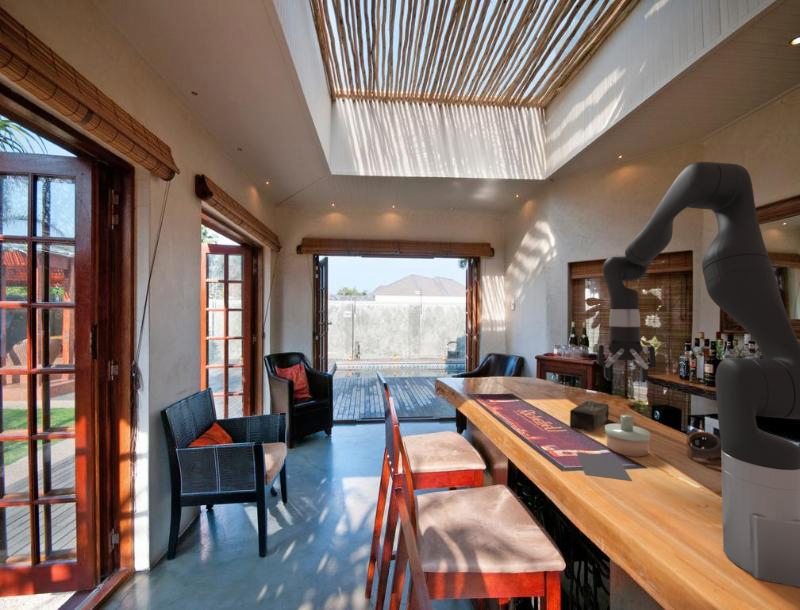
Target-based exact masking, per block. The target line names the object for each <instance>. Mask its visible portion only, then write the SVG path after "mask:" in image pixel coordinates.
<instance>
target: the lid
mask: <svg viewBox="0 0 800 610" xmlns="http://www.w3.org/2000/svg"><path fill="white" fill-rule="evenodd" d="M604 433H606V435H607V434H608V435H610V436H613V437H615V438H619V439H623V440H628V441H638V442H642V441H648V442H649V441H650V440H651V432H649V431H648V430H647V429H645V428H643V427H640V426H635V425H634V417H633V415H629V414H620V423H608V424H605V425H604Z"/></svg>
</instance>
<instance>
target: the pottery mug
mask: <svg viewBox="0 0 800 610" xmlns="http://www.w3.org/2000/svg"><path fill="white" fill-rule="evenodd" d="M686 436H687V437H686V440H685V441H686V448H687V449H686V456H687V457H688V458H689V459H690V458H691V460H692V459H693V458H696V459H705V460H710V459H716V458H722V457H721V437H719V436H717V435H715V434H714V433H711V432H708V431H695V430H693V429H691V430H688V431H687V432H686Z"/></svg>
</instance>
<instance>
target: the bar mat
mask: <svg viewBox="0 0 800 610" xmlns="http://www.w3.org/2000/svg"><path fill="white" fill-rule="evenodd" d="M576 455H577V458H578V460H579V463H580V465H581V467H582V470H583V472H584V475H585V476H591V477H599V478H607V479H614V480H622V481H629V482H633V480H632V478H631V477H630V475H629V473H628V472H627V470H626V469H625V467H624V466H623V464H622V463H621V461H620V459H619V457H618V456H616V455H615V456H614V455H606V454H604V455H603V454H597V453H589V452H580V451H577V452H576Z"/></svg>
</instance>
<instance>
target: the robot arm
mask: <svg viewBox="0 0 800 610" xmlns="http://www.w3.org/2000/svg"><path fill="white" fill-rule="evenodd" d="M686 208H691V209H699V210H710V211H711V212H713V213H714V215H715V217H716V221H717V227H718V228H717V230H718V231H717V233H716V236H715V237H714V239H713V240H712V242H711V243H710V245H709V247H708V248H707V250H706V252H705V254H704V256H703V258H702V261H701V268H702V275H703V279H704V284H705V287H706V292H707V294H708V296H709V297H710V299H711V300H712V301H713V303H715V305H716V306H717V307H719V308H720V309H721V310H722V311H723V312H724V313H725V314H726V315H728V316H729V317H730V318H731V319H733V320H734V321H735V322H736V323H737V324H739V326H741V327H742V328H743V329H744V330H745V331H747V332H748V334H749V335H750V337H751V338H752V339H753V341H754V342H755V343H756V345H757V347H758V349H759V351H760V353H761V356H762V358H748V357H747V358H744V357H739V358H738V357H731V358H729V357H728V358H725V359H723V360H721V361H720V362H719V364H718V366H717V368H716V372H715V382H714V383H715V394H716V403H717V419H718V421H717V422H718V431H719V435H720V437H719V438H720V440H721V457H720V458H721V501H722V502H721V505H722V506H721V511H722V513H721V514H722V516H721V517H722V542H723V543H722V544H723V549H722V550H723V553H724V555H726V558H728V559H729V560H730V561H731V562H733V563H734V564H736V565H737V566H738V567H739V568H741V569H743V570H745V571H747V572H749V573H750V574H751V575H752V576H753V577H754V578H755V579H757V580H763V581H766V582H767V581H768V582H771V583H777V584H782V585H787V586H792V587H797V588H800V447H799V446H798V445H797V444H795V443H794V442H792V441H789V440H787V439H785V438H782V437H779V436H777V435H774V434H770V433H768V432H766V431H764V430H762V429H760V428H759V427H758V425H757V421H756V420H757V419H756V417H764V418H765V417H767V418H776V419H777V418H780V419H789V420H791V419H792V420H800V341H799V339H798V337H797V335H796V333H795V331H794V328H793V326H792V323H791V321H790V319H789V316H788V313H787V309H786V308H785V304H784V301H783V298H782V296H781V292H780V289H779V284H778V281H777V277H776V273H775V271H774V267H773V264H772V261H771V258H770V256H769V253H768V251H767V247H766V245H765V241H764V238H763V234H762V231H761V227H760V224H759V219H758V214H757V209H756V203H755V197H754V187H753V183H752V179H751V175H750V173H749V170H747V168H745V167H744V166H742V165H740V164H736V163H729V162H725V163H724V162H713V161H696V162H693V163H691V164H689V165H688V166H686V167H685V168H684V169H683V170H682V171H681V172H680V173H679V175H678V176H677V177H676V178H675V180H674V181H673V183H671V186H670V187H669V188H668V190H667V192H666V193H665V195H664V196H663V198H662V199H661V201H660V202H659V204H658V206H657V208H656V209H655V211H654V212H653V214H652V216H651V217H650V219H649V220H648V222H647V223H646V224H645V226H644V227H643V229H642V230H641V231H639V233H638V234H637V235H636V236H635V237H634V238H633V239H632V240H631V242H629V244H628V245H627V246H626V248H625V250H624V255H625V256H610V257H609V258H606V260H605V261H604V263H603V266H602V275H603V279H604V281H605V283H606V287H607V291H608V294H609V306H610V307H609V309H610V310H609V311H610V312H609V318H608V319H609V322H608V324H609V325H608V326H609V344H608V345H607V344H606V345H605V344H601V343H599V344H597V350H596V363H597V364H598V365H599V366H602V367H603V376H604V378H605V379H606V380H607V381H612V371H611V370H612V369H611V366H612V365H613V364H614V363H615V362H616V361H617V360H619V361H631V362H632V361H635V362H636V363H637V365H639V367H640V368H639V381H640V382H641V383H646V382H647V381H648V379H649V376H648V375H649V369H652V368H656V367H657V361H656V352H655V347H654V345H653V346H652V345H649V344H647V345H642V343H641V339H642V338H641V337H642V336H641V333H642V332H641V313H640V301H639V300H640V295H639V291H637V289H634V288H631V287H630V288H629V287H626V285H625V284H624V282H627V281H630V282H631V281H633V282H634V281H637V280H640V279H642V278H643V277H644V276H645V275H646V273H647V272H648V270H649V267H650V265H651V264H652V262H653V260H654V259H655V258H656V257H658V256H659V255H660V254H661V253H662V252H663V251H664V250H665V249H666V248H667V247H668V246H669V244H670V243H671V240H672V238H673V231H674V229H673V228H674V226H673V225H674V220H675V219H676V217H677V216H678V215H679V214H680V213H682V212H683V211H684V210H685V209H686ZM607 350H609V352H610V355H609V356H608V357H607V359H606V360H605V361H604V354H605V353H606V352H607ZM643 351H644V353H645V354H646V356H647V357H646V359H647V362H645V361H644V359H643V358H642V357H641V356H640V354H641V353H642V352H643Z"/></svg>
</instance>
